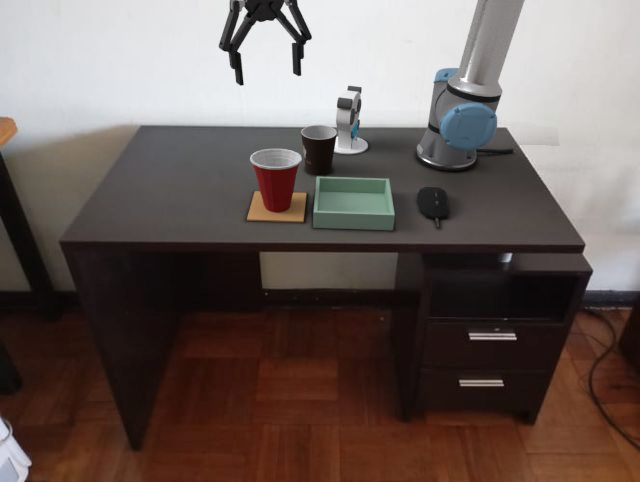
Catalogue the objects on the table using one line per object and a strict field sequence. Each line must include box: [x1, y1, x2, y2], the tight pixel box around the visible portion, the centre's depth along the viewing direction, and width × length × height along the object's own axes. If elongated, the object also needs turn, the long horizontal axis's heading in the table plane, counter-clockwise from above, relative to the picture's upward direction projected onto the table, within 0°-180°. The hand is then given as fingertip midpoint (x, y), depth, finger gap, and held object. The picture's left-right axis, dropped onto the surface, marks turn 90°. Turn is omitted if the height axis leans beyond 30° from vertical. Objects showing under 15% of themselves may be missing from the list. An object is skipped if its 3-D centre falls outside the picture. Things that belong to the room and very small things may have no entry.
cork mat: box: [246, 190, 307, 224], centre depth 111 cm, size 12×12×1 cm
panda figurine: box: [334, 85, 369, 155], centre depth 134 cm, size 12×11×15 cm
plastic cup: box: [249, 148, 303, 212], centre depth 108 cm, size 11×11×12 cm
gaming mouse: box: [417, 186, 449, 229], centre depth 110 cm, size 6×15×4 cm, turn 177°
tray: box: [312, 175, 396, 231], centre depth 110 cm, size 17×16×4 cm
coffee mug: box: [300, 124, 338, 176], centre depth 125 cm, size 12×9×10 cm
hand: (269, 79), depth 110 cm, fingers open, 13 cm apart
